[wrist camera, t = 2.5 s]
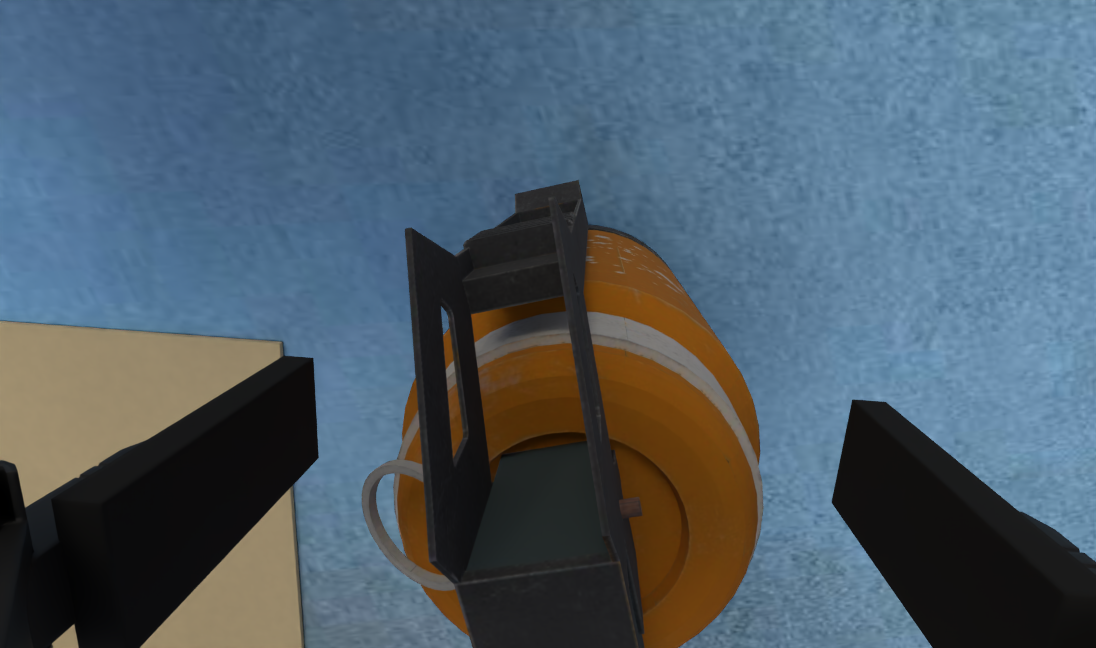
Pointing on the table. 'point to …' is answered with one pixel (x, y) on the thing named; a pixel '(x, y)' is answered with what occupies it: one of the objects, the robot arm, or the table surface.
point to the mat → (135, 416)
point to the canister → (569, 440)
